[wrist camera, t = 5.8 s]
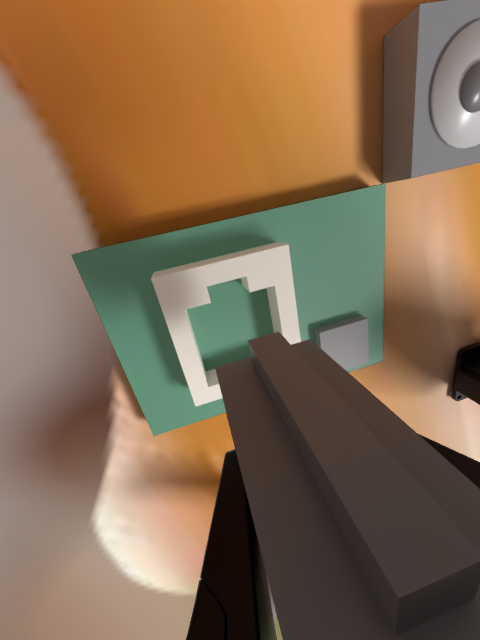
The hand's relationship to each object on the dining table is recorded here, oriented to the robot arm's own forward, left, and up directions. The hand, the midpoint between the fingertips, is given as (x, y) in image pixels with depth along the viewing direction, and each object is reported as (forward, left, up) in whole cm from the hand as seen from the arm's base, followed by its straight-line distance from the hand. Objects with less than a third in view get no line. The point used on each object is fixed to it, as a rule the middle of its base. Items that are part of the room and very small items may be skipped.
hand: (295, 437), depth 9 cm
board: (-2, 0, -12) cm, 12 cm away
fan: (-17, -11, -12) cm, 23 cm away
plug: (0, 0, -2) cm, 2 cm away
